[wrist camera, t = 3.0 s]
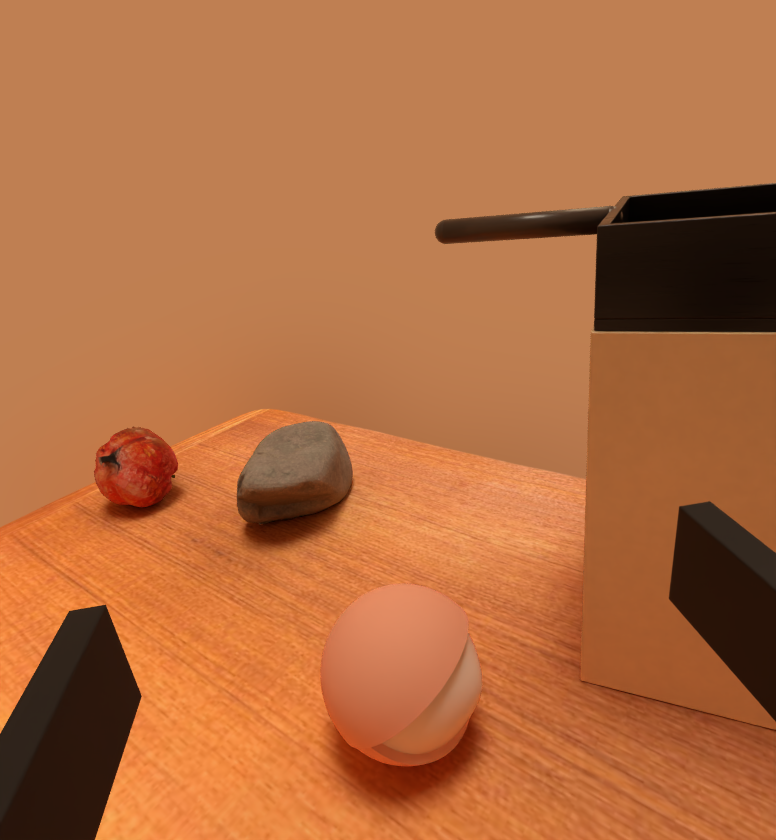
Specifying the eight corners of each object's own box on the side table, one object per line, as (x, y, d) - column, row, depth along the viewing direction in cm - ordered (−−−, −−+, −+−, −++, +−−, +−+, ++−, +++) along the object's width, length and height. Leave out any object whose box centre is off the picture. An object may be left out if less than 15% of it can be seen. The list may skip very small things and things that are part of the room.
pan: (902, 259, 27) (924, 167, 26) (1045, 333, 17) (1098, 186, 15) (473, 275, 36) (470, 208, 35) (394, 330, 26) (383, 238, 24)
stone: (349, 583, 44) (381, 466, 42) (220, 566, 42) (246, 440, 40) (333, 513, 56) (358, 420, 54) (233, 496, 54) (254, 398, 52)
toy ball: (464, 832, 24) (451, 698, 20) (305, 778, 27) (272, 654, 23) (502, 681, 30) (496, 562, 27) (371, 650, 33) (353, 540, 30)
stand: (827, 572, 35) (904, 258, 27) (894, 761, 24) (1051, 334, 17) (604, 538, 40) (617, 269, 33) (580, 680, 30) (590, 332, 22)
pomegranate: (139, 500, 58) (51, 489, 49) (162, 432, 59) (79, 409, 50) (192, 520, 55) (108, 512, 46) (215, 448, 56) (137, 426, 47)
